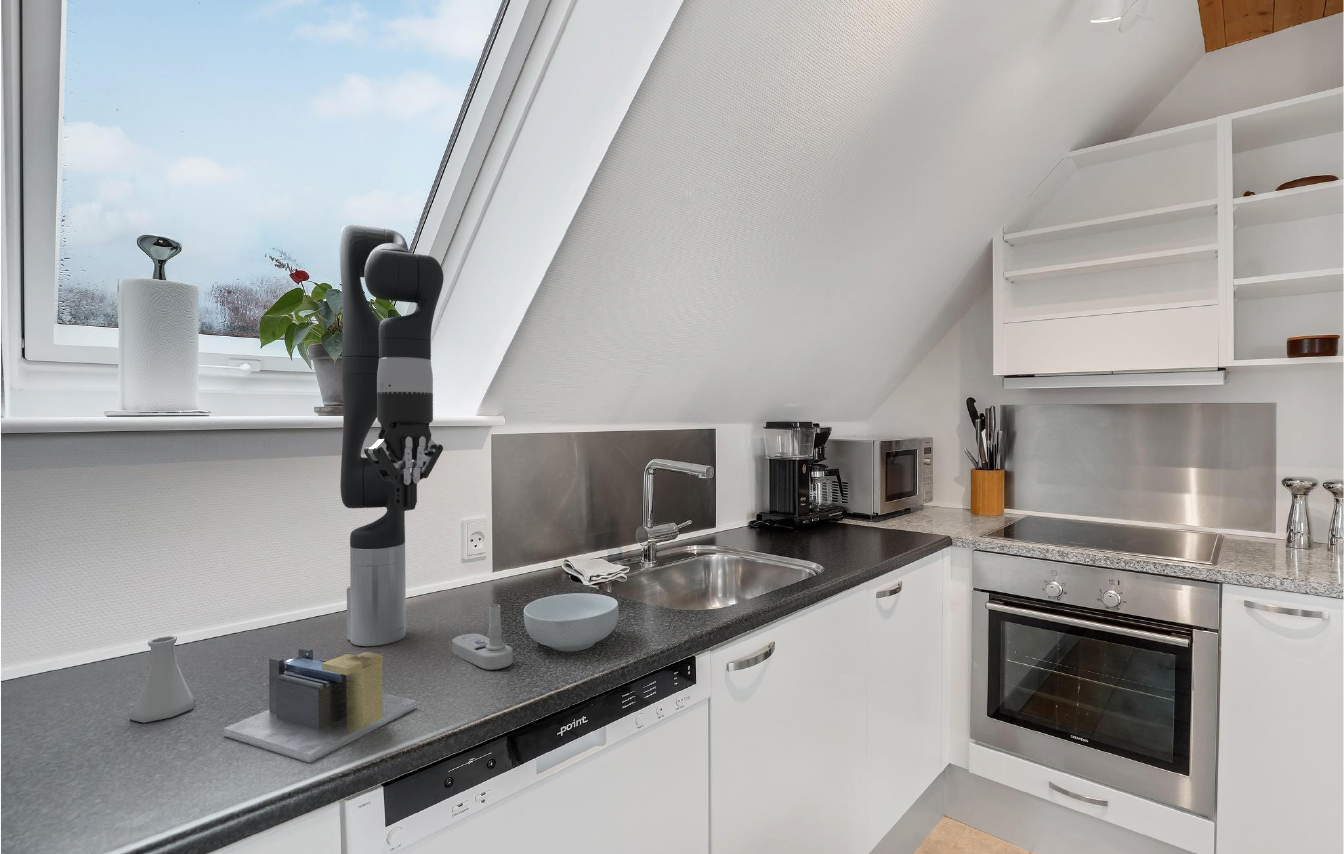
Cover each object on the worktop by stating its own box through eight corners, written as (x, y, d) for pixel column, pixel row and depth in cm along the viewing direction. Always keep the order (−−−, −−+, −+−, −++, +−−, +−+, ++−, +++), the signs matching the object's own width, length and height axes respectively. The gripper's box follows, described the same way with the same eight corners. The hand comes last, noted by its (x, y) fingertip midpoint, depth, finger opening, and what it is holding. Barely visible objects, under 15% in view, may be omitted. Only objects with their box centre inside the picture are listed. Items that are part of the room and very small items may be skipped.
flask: (187, 696, 94) (186, 627, 94) (203, 709, 90) (202, 637, 90) (122, 713, 89) (122, 640, 89) (136, 729, 84) (136, 652, 84)
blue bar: (278, 672, 88) (278, 661, 88) (297, 664, 90) (297, 654, 90) (338, 684, 83) (338, 673, 83) (357, 676, 85) (357, 665, 85)
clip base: (223, 735, 82) (223, 672, 82) (336, 688, 97) (335, 634, 96) (309, 762, 75) (309, 693, 75) (416, 707, 90) (416, 650, 90)
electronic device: (474, 591, 117) (517, 605, 106) (475, 646, 117) (519, 665, 106) (445, 597, 113) (487, 612, 102) (447, 653, 113) (489, 674, 102)
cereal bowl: (556, 625, 127) (556, 589, 127) (634, 634, 121) (633, 596, 121) (503, 653, 111) (503, 612, 111) (589, 666, 105) (589, 623, 105)
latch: (322, 728, 82) (322, 663, 82) (358, 711, 87) (358, 649, 87) (347, 735, 80) (347, 668, 80) (382, 717, 85) (382, 654, 85)
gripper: (387, 388, 87) (387, 517, 87) (457, 392, 99) (458, 505, 99) (347, 389, 90) (348, 514, 90) (420, 393, 102) (421, 503, 102)
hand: (406, 509), depth 95 cm, fingers closed
